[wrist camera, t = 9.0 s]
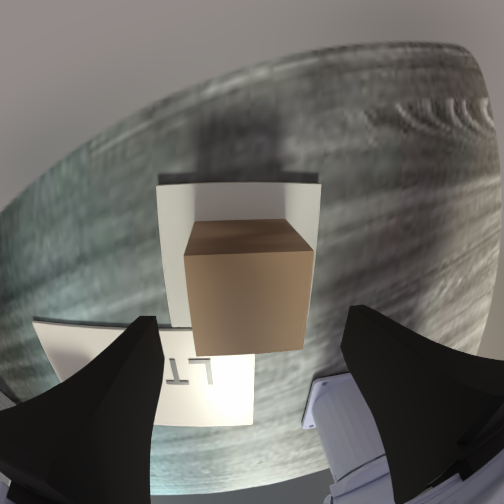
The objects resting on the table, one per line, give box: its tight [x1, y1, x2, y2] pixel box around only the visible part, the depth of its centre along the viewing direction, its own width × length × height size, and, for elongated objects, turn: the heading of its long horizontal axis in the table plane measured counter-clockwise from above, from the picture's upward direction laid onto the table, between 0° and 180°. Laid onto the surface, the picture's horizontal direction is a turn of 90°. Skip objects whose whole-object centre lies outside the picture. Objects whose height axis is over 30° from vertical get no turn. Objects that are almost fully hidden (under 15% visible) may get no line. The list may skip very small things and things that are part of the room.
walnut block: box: [184, 219, 314, 357], centre depth 13 cm, size 5×5×5 cm
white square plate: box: [156, 182, 321, 327], centre depth 16 cm, size 9×9×1 cm
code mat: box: [32, 320, 255, 426], centre depth 19 cm, size 18×12×1 cm, turn 89°
